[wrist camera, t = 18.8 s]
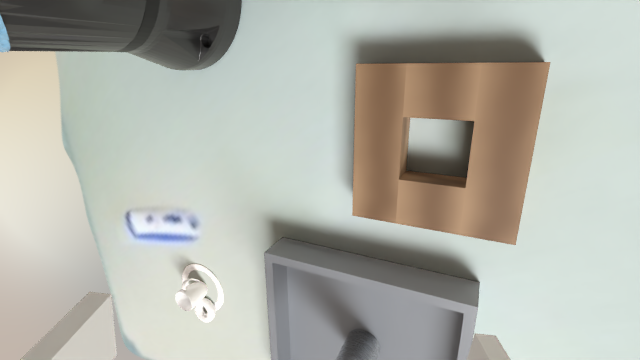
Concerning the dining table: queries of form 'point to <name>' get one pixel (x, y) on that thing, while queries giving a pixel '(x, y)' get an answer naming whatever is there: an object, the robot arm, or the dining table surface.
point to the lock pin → (359, 346)
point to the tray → (364, 305)
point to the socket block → (486, 148)
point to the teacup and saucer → (198, 294)
